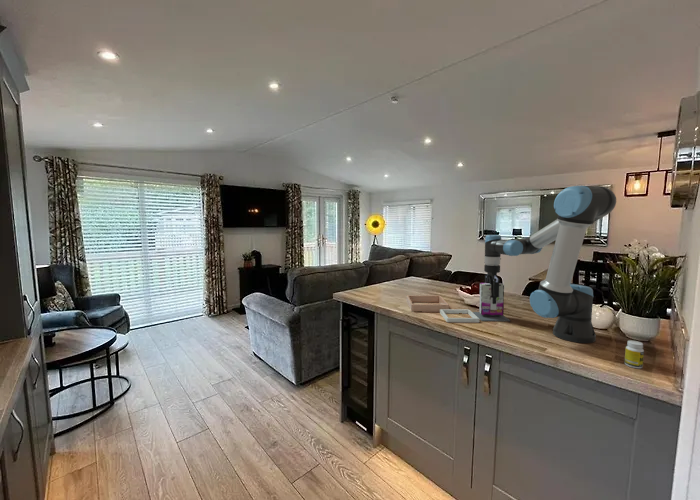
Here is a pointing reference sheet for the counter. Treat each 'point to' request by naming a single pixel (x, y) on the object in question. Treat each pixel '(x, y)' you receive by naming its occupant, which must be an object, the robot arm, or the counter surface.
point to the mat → (491, 317)
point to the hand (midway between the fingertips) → (491, 307)
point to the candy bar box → (486, 300)
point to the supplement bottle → (634, 354)
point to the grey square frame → (463, 311)
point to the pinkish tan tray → (427, 307)
